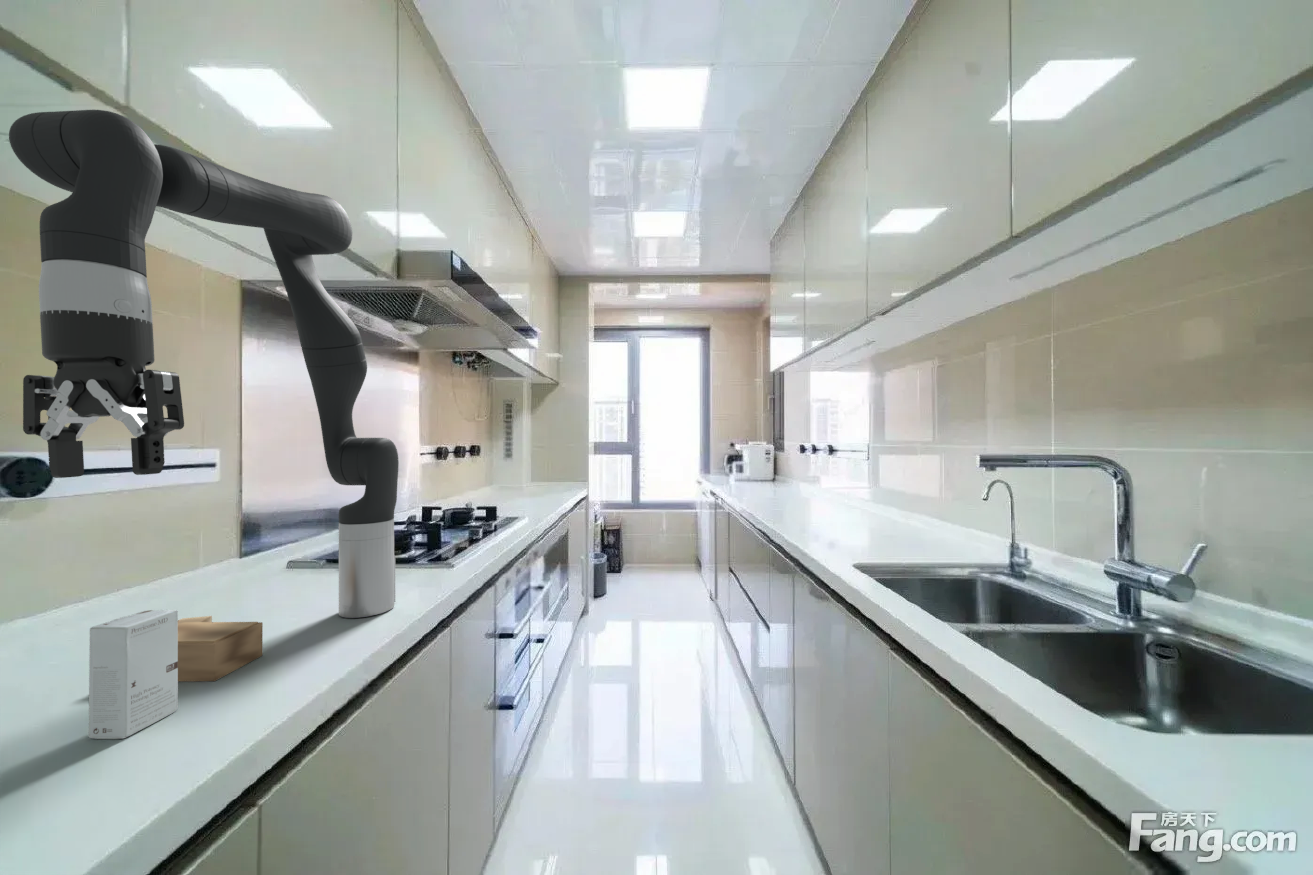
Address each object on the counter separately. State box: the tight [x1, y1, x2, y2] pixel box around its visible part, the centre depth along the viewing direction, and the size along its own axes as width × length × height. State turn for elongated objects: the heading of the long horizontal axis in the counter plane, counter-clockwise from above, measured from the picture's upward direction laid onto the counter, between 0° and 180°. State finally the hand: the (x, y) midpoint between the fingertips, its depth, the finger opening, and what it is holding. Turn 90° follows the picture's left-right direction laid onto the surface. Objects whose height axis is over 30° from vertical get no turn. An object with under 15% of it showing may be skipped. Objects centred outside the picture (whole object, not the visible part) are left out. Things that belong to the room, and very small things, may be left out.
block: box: [178, 615, 213, 624], centre depth 78 cm, size 4×4×4 cm
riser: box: [178, 621, 263, 683], centre depth 70 cm, size 8×12×5 cm, turn 90°
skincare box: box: [88, 609, 179, 740], centre depth 56 cm, size 6×4×12 cm
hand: (107, 475), depth 50 cm, fingers open, 8 cm apart
